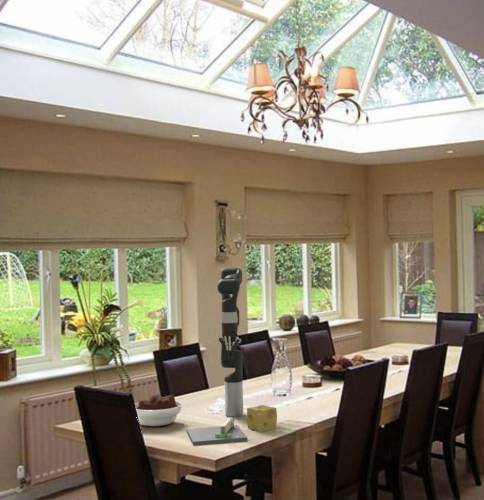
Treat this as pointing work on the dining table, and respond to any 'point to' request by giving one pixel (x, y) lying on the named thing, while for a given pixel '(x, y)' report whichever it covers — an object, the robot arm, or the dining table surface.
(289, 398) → the dining table surface
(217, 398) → the dining table surface
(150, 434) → the dining table surface
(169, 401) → the bowl of brownies
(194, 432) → the grey square slab
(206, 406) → the dining table surface
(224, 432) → the beige wooden bar
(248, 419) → the cheese
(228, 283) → the robot arm
